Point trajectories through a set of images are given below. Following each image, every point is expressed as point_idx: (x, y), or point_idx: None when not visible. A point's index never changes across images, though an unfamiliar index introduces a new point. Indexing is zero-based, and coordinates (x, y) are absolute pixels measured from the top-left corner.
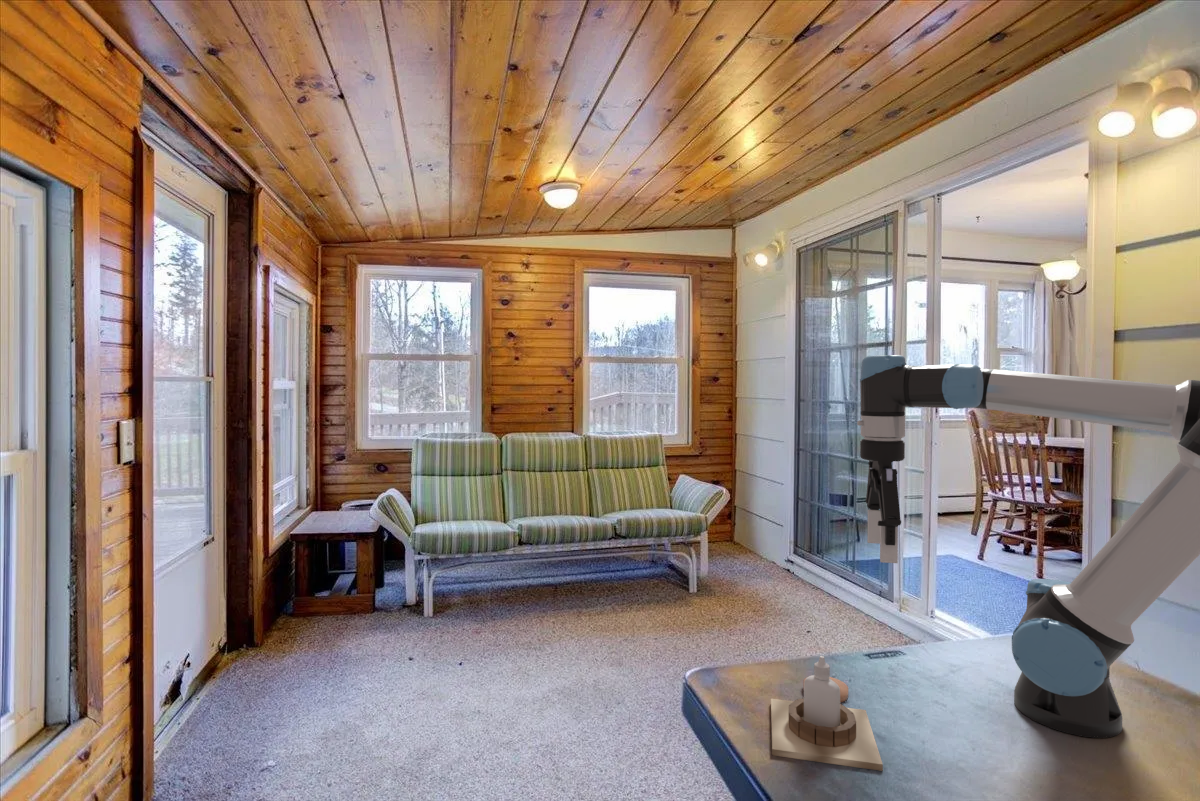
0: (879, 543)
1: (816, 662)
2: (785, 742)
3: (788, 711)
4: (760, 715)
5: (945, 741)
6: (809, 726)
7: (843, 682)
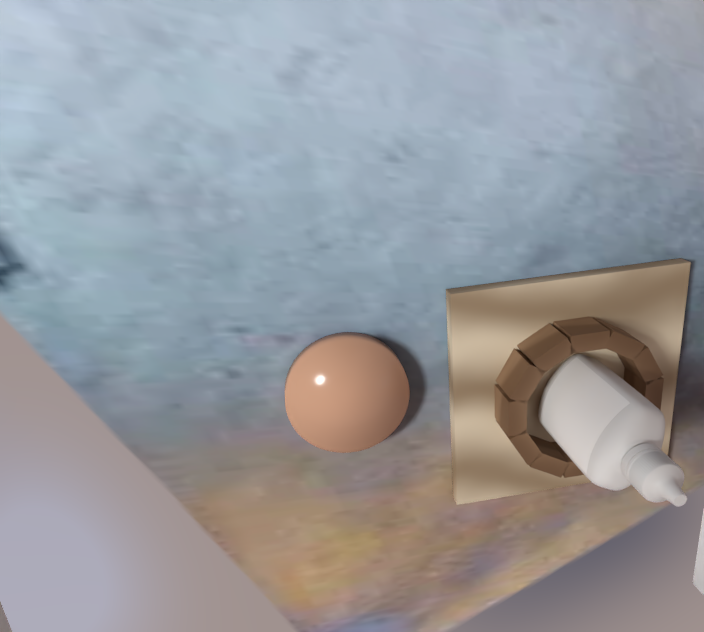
0: (6, 623)
1: (653, 499)
2: None
3: (508, 462)
4: (510, 506)
5: (526, 92)
6: None
7: (309, 353)
